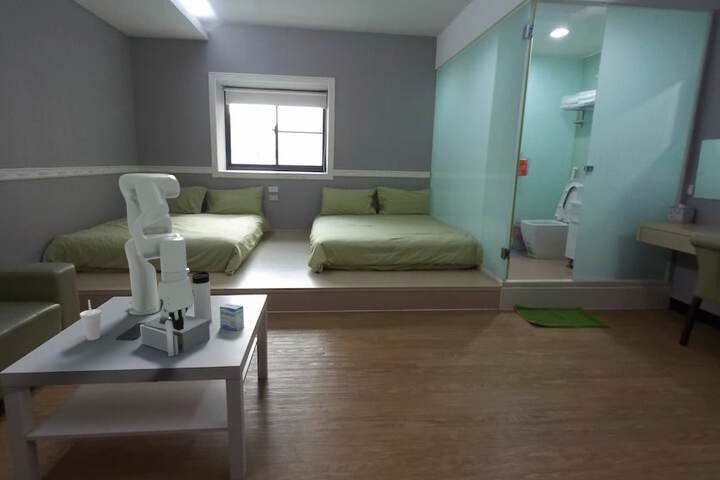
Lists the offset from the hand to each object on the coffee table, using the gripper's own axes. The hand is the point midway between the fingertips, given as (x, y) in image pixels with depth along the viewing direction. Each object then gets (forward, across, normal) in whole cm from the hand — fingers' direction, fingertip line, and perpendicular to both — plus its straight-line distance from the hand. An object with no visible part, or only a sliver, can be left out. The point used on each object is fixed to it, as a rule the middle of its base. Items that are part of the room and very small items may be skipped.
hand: (178, 328), depth 129 cm
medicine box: (+8, -23, -1) cm, 25 cm away
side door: (+8, +3, -8) cm, 12 cm away
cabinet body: (+8, -5, -8) cm, 13 cm away
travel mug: (+8, -21, -15) cm, 27 cm away
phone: (+9, -2, -28) cm, 30 cm away
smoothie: (+8, +10, -36) cm, 38 cm away
